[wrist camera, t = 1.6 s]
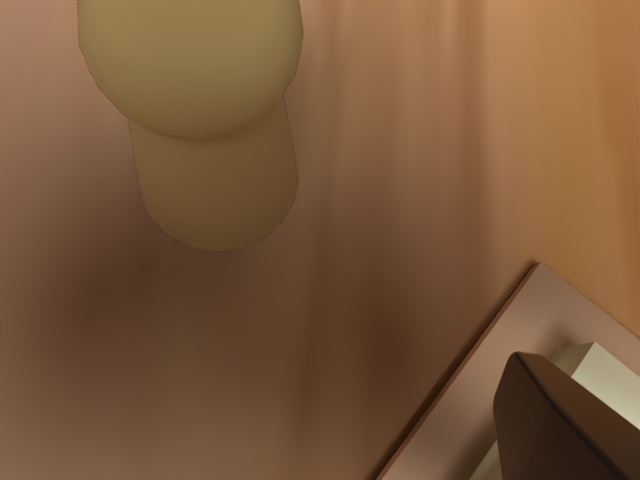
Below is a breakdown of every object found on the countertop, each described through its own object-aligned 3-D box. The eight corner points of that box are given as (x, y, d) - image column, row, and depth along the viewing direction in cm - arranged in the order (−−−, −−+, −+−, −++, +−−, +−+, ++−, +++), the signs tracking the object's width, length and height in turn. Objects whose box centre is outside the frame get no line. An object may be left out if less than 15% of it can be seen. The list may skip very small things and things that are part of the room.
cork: (316, 229, 23) (363, 75, 13) (157, 270, 22) (63, 139, 12) (274, 91, 25) (284, -152, 14) (124, 123, 24) (12, -112, 13)
